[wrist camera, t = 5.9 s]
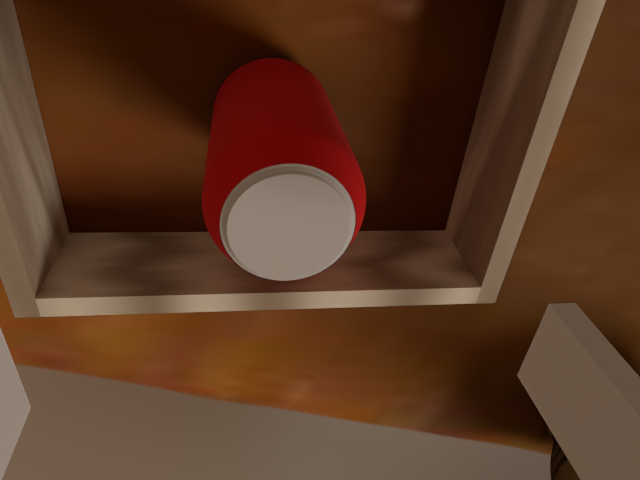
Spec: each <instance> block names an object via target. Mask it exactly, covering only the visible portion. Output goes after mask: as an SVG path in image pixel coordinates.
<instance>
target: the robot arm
mask: <svg viewBox="0 0 640 480" xmlns="http://www.w3.org/2000/svg"><path fill="white" fill-rule="evenodd" d="M517 376H518V378H519V379H520V381H521V383H522V384H523V386H524V388H525V389H526V391H527V392H528V394H529V396H530V397H531V399H532V401H533V402H534V404H535V406H536V407H537V409H538V411H539V412H540V414H541V416H542V417H543V419H544V420H545V422H546V424H547V425H548V427H549V429H550V430H551V432H552V434H553V435H554V437H555V439H556V440H557V442H558V444H559V445H560V447H561V448H562V450H563V452H564V453H565V455H566V457H567V458H568V460H569V462H570V463H571V465H572V467H573V468H574V470H575V472H576V473H577V475H578V476H579V478H580V480H640V377H639V376H638V375H637V373H636V372H635V371H634V370H633V369H632V368H631V367H630V365H629V364H628V363H627V362H626V361H625V360H624V358H623V357H622V356H621V355H620V354H619V353H618V352H617V350H616V349H615V348H614V347H613V346H612V345H611V343H610V342H609V341H608V340H607V339H606V338H605V337H604V335H603V334H602V333H601V332H600V331H599V330H598V328H597V327H596V326H595V325H594V324H593V323H592V322H591V320H590V319H589V318H588V317H587V316H586V315H585V313H584V312H583V311H582V310H581V309H580V308H579V307H578V305H577V304H576V303H557V304H549V305H548V307H547V309H546V311H545V314H544V316H543V318H542V320H541V323H540V325H539V327H538V329H537V332H536V334H535V336H534V338H533V341H532V343H531V345H530V347H529V350H528V352H527V354H526V356H525V359H524V361H523V363H522V365H521V368H520V370H519V372H518V374H517ZM30 409H31V406H30V403H29V401H28V398H27V396H26V393H25V391H24V388H23V385H22V383H21V380H20V377H19V375H18V373H17V370H16V367H15V365H14V362H13V359H12V357H11V354H10V352H9V349H8V346H7V344H6V341H5V339H4V336H3V333H2V331H1V328H0V480H2V478H3V475H4V472H5V470H6V468H7V465H8V463H9V460H10V458H11V456H12V453H13V450H14V448H15V446H16V443H17V441H18V438H19V436H20V433H21V431H22V428H23V426H24V424H25V421H26V419H27V416H28V414H29V411H30Z"/></svg>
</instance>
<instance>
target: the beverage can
mask: <svg viewBox="0 0 640 480" xmlns="http://www.w3.org/2000/svg"><path fill="white" fill-rule="evenodd" d="M365 208H366V188H365V182H364V178H363V175H362V172H361V169H360V167H359V165H358V162H357V160H356V158H355V156H354V154H353V152H352V149H351V147H350V145H349V143H348V141H347V138H346V136H345V134H344V132H343V130H342V128H341V125H340V123H339V121H338V119H337V117H336V114H335V112H334V110H333V108H332V106H331V103H330V101H329V99H328V97H327V95H326V93H325V91H324V89H323V87H322V85H321V84H320V82H319V81H318V80H317V78H316V77H315V76H314V75H313V74H312V73H311V72H309V71H308V70H307V69H306V68H304V67H302V66H301V65H299V64H297V63H295V62H292V61H289V60H286V59H281V58H262V59H257V60H254V61H251V62H248V63H246V64H244V65H242V66H241V67H239V68H237V69H236V70H235V71H234V72H232V73H231V74H230V75H229V76H228V77H227V79H226V80H225V81H224V83H223V84H222V86H221V87H220V89H219V91H218V93H217V96H216V99H215V103H214V109H213V116H212V123H211V131H210V138H209V145H208V152H207V160H206V167H205V174H204V182H203V189H202V212H203V217H204V221H205V224H206V227H207V230H208V232H209V234H210V236H211V238H212V239H213V241H214V243H215V244H216V246H217V247H218V248H219V249H220V250H221V252H222V253H223V254H224V255H225V256H226V257H227V258H229V259H230V260H231V261H232V262H234V263H235V264H236V265H238V266H239V267H240V268H242V269H243V270H245V271H246V272H248V273H250V274H252V275H254V276H257V277H259V278H263V279H266V280H271V281H282V282H287V281H297V280H302V279H306V278H309V277H312V276H315V275H317V274H319V273H321V272H323V271H325V270H326V269H328V268H329V267H331V266H332V265H333V264H335V263H336V262H337V261H338V260H339V259H340V258H341V257H342V256H343V254H344V253H345V252H346V250H347V249H348V247H349V246H350V245H351V243H352V242H353V240H354V239H355V237H356V235H357V234H358V231H359V229H360V227H361V224H362V222H363V218H364V214H365Z"/></svg>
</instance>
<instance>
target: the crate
mask: <svg viewBox="0 0 640 480" xmlns="http://www.w3.org/2000/svg"><path fill="white" fill-rule="evenodd" d="M605 1H606V0H506V1H505V5H504V8H503V12H502V16H501V20H500V24H499V27H498V31H497V35H496V39H495V43H494V46H493V50H492V54H491V58H490V62H489V65H488V69H487V73H486V77H485V81H484V84H483V88H482V92H481V96H480V100H479V103H478V107H477V111H476V115H475V119H474V122H473V126H472V130H471V134H470V138H469V141H468V145H467V149H466V153H465V157H464V161H463V164H462V168H461V172H460V176H459V180H458V183H457V187H456V191H455V195H454V199H453V202H452V206H451V210H450V214H449V218H448V221H447V225H446V229H445V230H437V231H358V234H357V235H356V237H355V239H354V240H353V242H352V243H351V245H350V246H349V247H348V249H347V250H346V252H345V253H344V254H343V256H342V257H341V258H340V259H339V260H338V261H337V262H336V263H335V264H333V265H332V266H331V267H329V268H328V269H326V270H325V271H323V272H321V273H319V274H317V275H315V276H312V277H309V278H306V279H302V280H297V281H287V282H282V281H271V280H266V279H263V278H259V277H257V276H254V275H252V274H250V273H248V272H246V271H245V270H243V269H242V268H240V267H239V266H238V265H236V264H235V263H234V262H232V261H231V260H230V259H229V258H227V257H226V256H225V255H224V254H223V253H222V252H221V250H220V249H219V248H218V247H217V246H216V244H215V243H214V241H213V239H212V238H211V236H210V234H209V232H102V233H70V232H69V228H68V224H67V219H66V215H65V211H64V207H63V203H62V199H61V195H60V191H59V187H58V183H57V178H56V174H55V170H54V166H53V162H52V158H51V154H50V150H49V146H48V142H47V137H46V133H45V129H44V125H43V121H42V117H41V113H40V109H39V105H38V101H37V96H36V92H35V88H34V84H33V80H32V76H31V72H30V68H29V64H28V60H27V55H26V51H25V47H24V43H23V39H22V35H21V31H20V27H19V23H18V19H17V15H16V10H15V6H14V2H13V0H0V277H1V280H2V282H3V285H4V288H5V291H6V294H7V296H8V299H9V302H10V305H11V308H12V310H13V313H14V316H15V318H18V317H51V316H83V315H116V314H148V313H181V312H214V311H246V310H279V309H311V308H344V307H376V306H409V305H441V304H474V303H495V301H496V299H497V296H498V293H499V291H500V288H501V285H502V282H503V280H504V277H505V274H506V271H507V269H508V266H509V263H510V261H511V258H512V255H513V252H514V250H515V247H516V244H517V241H518V239H519V236H520V233H521V230H522V228H523V225H524V222H525V220H526V217H527V214H528V211H529V209H530V206H531V203H532V200H533V198H534V195H535V192H536V190H537V187H538V184H539V181H540V179H541V176H542V173H543V170H544V168H545V165H546V162H547V159H548V157H549V154H550V151H551V149H552V146H553V143H554V140H555V138H556V135H557V132H558V129H559V127H560V124H561V121H562V119H563V116H564V113H565V110H566V108H567V105H568V102H569V99H570V97H571V94H572V91H573V88H574V86H575V83H576V80H577V78H578V75H579V72H580V69H581V67H582V64H583V61H584V58H585V56H586V53H587V50H588V48H589V45H590V42H591V39H592V37H593V34H594V31H595V28H596V26H597V23H598V20H599V18H600V15H601V12H602V9H603V7H604V4H605Z"/></svg>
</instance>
